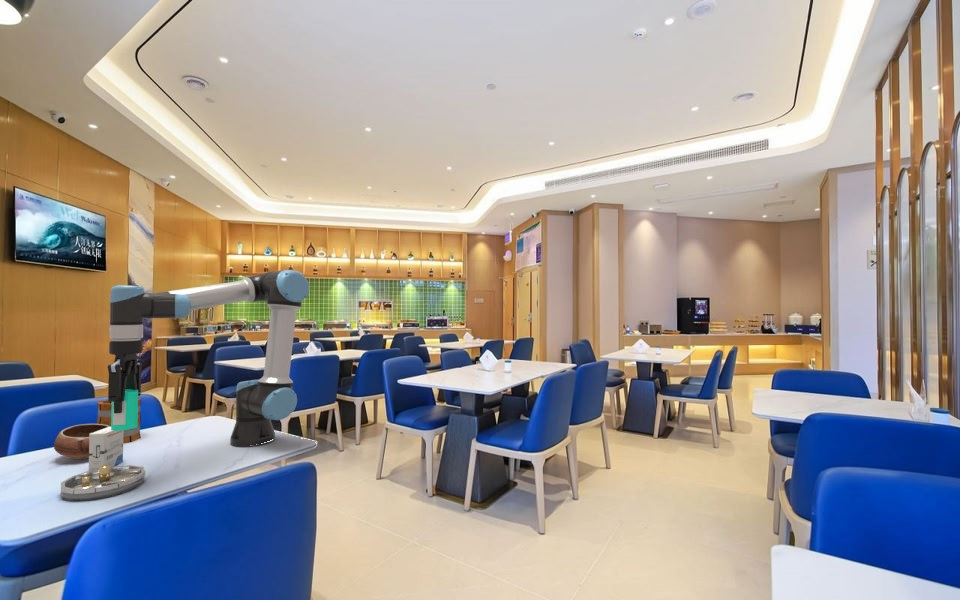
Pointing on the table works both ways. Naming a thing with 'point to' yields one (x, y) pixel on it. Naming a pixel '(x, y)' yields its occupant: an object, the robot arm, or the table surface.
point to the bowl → (76, 440)
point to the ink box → (105, 448)
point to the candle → (128, 411)
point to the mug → (105, 419)
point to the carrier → (102, 483)
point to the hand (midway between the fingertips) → (124, 421)
